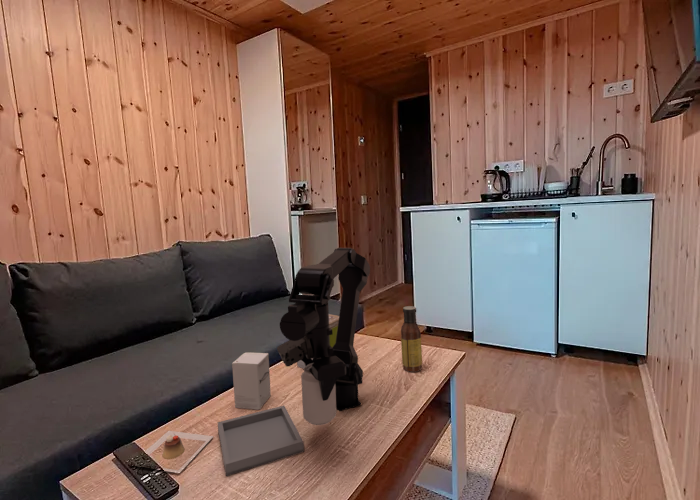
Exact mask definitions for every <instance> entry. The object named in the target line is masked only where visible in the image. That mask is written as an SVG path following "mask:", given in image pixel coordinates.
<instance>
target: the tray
mask: <svg viewBox="0 0 700 500" xmlns="http://www.w3.org/2000/svg"><path fill="white" fill-rule="evenodd" d="M217 431H218V432H217V433H218V438H219V444H220V450H221V454H222V460H223V461H222V462H223V467H224V472H225V477H228V476H229V477H230V476H231V475H236V474H238V473H241V472H244V471H247V470H250V469H254V468H257V467H260V466H264V465H267V464H270V463H273V462H276V461H279V460H283V459H286V458H289V457H292V456H295V455H298V454H301V453H304V452H305V451H304V450H305V447H304V439H303V437H302V436H301V434H300V432H299V430H298V428H297V427H296V425H295V423H294V421H293V419H292V417H291V415H290V414H289V412H288V409H287V408H286V405H279V406H275V407H273V408H269V409H264V410H260V411H257V412H252V413H249V414H245V415H241V416H237V417H233V418H229V419H225V420H221V421H218V422H217Z"/></svg>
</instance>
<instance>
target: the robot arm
mask: <svg viewBox="0 0 700 500" xmlns="http://www.w3.org/2000/svg"><path fill="white" fill-rule="evenodd" d="M370 274H371V266H370V263H369V262H368V260H367V258H366V257H365V256H363V255H361V254H359V253H357V251H356V250H355V249H354V248H351V247H337V248H335V249H334V250H333V251H332V252H331V254H329V255H328V256H327V257H325V258H324V259H323V260H321V261H320V262H319V263H316V264H310V265H306V266H305V265H304V266H302V267H300V268H299V270H297V273H296V274H295V277H294V280H293V284H292V288H291V291H290V295H289V298H288V303H293V304H290V305H288V306H287V312H286V313H284V314H283V315H282V316H281V318H280V321H279V329H280V331H281V334H282V335H283V337H285V338H286V339H288V340H287V341H286V342H283V343H281V344H280V345H278V346H277V348H276V350H277V352H278V354H279V356H280V358H281V361H282V362H283V364H284V365H285V367H291V366H293V365H294V364H297V362H298V361H300V360H302V361H303V362H304V364H305V366H307V365H308V364H311V363H313V364H312V371H313V373H311V374H312V375H313V376H314V378H315V379H316V380H318V381H319V386H320V391H321V396H322V400H323V401H325V400H328V398H329V396H330V394H331V391H332V389H333V387H334V385H335V388H336V410H337V411H339V412H342V411H345V410H348V409H352V408H355V407H356V408H357V407H359V406H361V405H362V402H361V401H360V400H359V385H362V384H363V378H364V370H363V368H362V367H361V365H359V356H358V353H357V351H356V350H355V346H354V343H355V334H356V326H357V317H358V310H359V302H360V294H361V292H362V291H363V289H364V288H365V286H366V285H367V283H368V278H369V277H370ZM336 277H338V281H339V283H340V285H341V289H342V293H341V299H340V309H339V315H338V316H339V321H338V329H337V336H336V343H335V345H334V346H333V347H331V346H330V335H333V333H332V329H330V328H329V314H330V312H329V301H330V300H331V299H332V298H331V297H332V296H331V293H332V292H333V291H332V290H333V288H334V286H335V280H334V279H335V278H336Z"/></svg>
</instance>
